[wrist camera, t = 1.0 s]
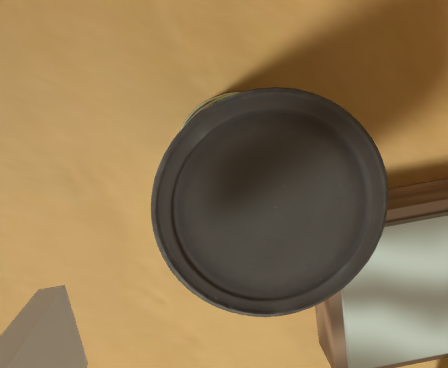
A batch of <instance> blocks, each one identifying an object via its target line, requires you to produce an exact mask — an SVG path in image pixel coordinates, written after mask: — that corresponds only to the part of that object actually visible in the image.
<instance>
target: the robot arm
mask: <svg viewBox="0 0 448 368" xmlns="http://www.w3.org/2000/svg"><path fill="white" fill-rule="evenodd" d="M87 365H88V362H87V359H86V355H85V352H84V348H83V345H82V342H81V338H80V335H79V332H78V328H77V325H76V321H75V318H74V315H73V311H72V308H71V304H70V301H69V298H68V294H67V291H66V288H65V285H63V286H57V287H51V288H45V289H39V290H38V291H37V292H36V293H35V294H34V296H33V297H32V298H31V299H30V301H29V302H28V303H27V304H26V305H25V307H24V308H23V309H22V310H21V312H20V313H19V314H18V315H17V316H16V318H15V319H14V320H13V321H12V323H11V324H10V325H9V326H8V327H7V329H6V330H5V331H4V332H3V334H2V335H1V336H0V368H86V367H87Z"/></svg>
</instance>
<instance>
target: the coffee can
mask: <svg viewBox="0 0 448 368" xmlns="http://www.w3.org/2000/svg"><path fill="white" fill-rule="evenodd" d="M387 209H388V181H387V174H386V170H385V166H384V163H383V160H382V157H381V155H380V153H379V150H378V148H377V147H376V145H375V143H374V141H373V140H372V138H371V137H370V135H369V134H368V133H367V131H366V130H365V129H364V127H363V126H362V125H361V124H360V123H359V122H358V121H357V120H356V119H355V118H354V117H353V116H352V115H351V114H350V113H349V112H347V111H346V110H345V109H343V108H342V107H340V106H339V105H337V104H336V103H334V102H332V101H330V100H328V99H326V98H324V97H321V96H319V95H316V94H313V93H310V92H306V91H302V90H298V89H290V88H259V89H254V90H248V91H244V92H233V93H227V94H222V95H219V96H216V97H214V98H212V99H209V100H208V101H206V102H204V103H203V104H201V105H200V106H199V107H197V108H196V109H195V110H194V111H193V112H192V113H191V114H190V115H189V117H188V118H187V119H186V121H185V122H184V124H183V126H182V128H181V130H180V132H179V133H178V134H177V136H176V137H175V138H174V139H173V141H172V142H171V144H170V146H169V147H168V149H167V151H166V152H165V154H164V156H163V158H162V160H161V163H160V165H159V167H158V170H157V173H156V176H155V179H154V184H153V190H152V198H151V218H152V225H153V232H154V235H155V239H156V242H157V245H158V247H159V250H160V252H161V254H162V257H163V258H164V260H165V262H166V263H167V265H168V267H169V268H170V270H171V271H172V273H173V274H174V275H175V276H176V277H177V279H178V280H179V281H180V282H181V283H182V284H183V285H184V286H185V287H186V288H187V289H188V290H190V291H191V292H192V293H193V294H195V295H196V296H198V297H199V298H201V299H202V300H204V301H206V302H208V303H209V304H211V305H213V306H216V307H218V308H220V309H223V310H226V311H229V312H232V313H237V314H241V315H248V316H256V317H271V316H282V315H287V314H292V313H296V312H299V311H302V310H305V309H308V308H311V307H313V306H315V305H318V304H320V303H322V302H323V301H325V300H327V299H328V298H330V297H332V296H333V295H335V294H336V293H337V292H339V291H340V290H341V289H343V288H344V287H345V286H346V285H347V284H348V283H350V282H351V281H352V280H353V279H354V277H355V276H356V275H357V274H358V273H359V272H360V271H361V270H362V268H363V267H364V266H365V265H366V263H367V262H368V261H369V259H370V258H371V256H372V254H373V252H374V251H375V249H376V247H377V245H378V242H379V240H380V238H381V236H382V233H383V229H384V226H385V221H386V216H387Z"/></svg>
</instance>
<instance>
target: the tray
mask: <svg viewBox="0 0 448 368" xmlns="http://www.w3.org/2000/svg"><path fill="white" fill-rule="evenodd" d="M315 308H316V317H317V326H318V335H319V343H320V345H321V347H322V349H323V351H324V353H325V355H326V357H327V359H328V361H329V364H330V366H331V368H396V367H401V366H406V365H411V364H416V363H421V362H426V361H431V360H436V359H441V358H446V357H448V179H442V180H437V181H431V182H426V183H420V184H415V185H409V186H404V187H398V188H393V189H388V209H387V216H386V221H385V226H384V229H383V233H382V236H381V238H380V240H379V242H378V245H377V247H376V249H375V251H374V252H373V254H372V256H371V258H370V259H369V261H368V262H367V263H366V265H365V266H364V267H363V268H362V270H361V271H360V272H359V273H358V274H357V275H356V276H355V277H354V279H353V280H352V281H351V282H350V283H348V284H347V285H346V286H345V287H344V288H343V289H341V290H340V291H339V292H337V293H336V294H335V295H333V296H332V297H330V298H328V299H327V300H325V301H323V302H322V303H320V304H318V305H315Z"/></svg>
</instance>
